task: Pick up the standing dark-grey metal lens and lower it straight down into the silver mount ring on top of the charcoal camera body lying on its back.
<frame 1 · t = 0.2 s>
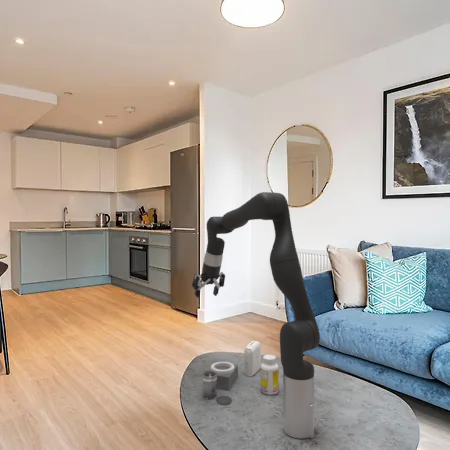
hand: (206, 295, 157), 31 cm above the table, tool tilted 20°, fingers open, 8 cm apart
camera body: (222, 382, 143), on the table
lens cap: (223, 402, 128), on the table
lens: (209, 395, 132), on the table
photo printer: (252, 372, 153), on the table
supplement bottle: (269, 391, 136), on the table
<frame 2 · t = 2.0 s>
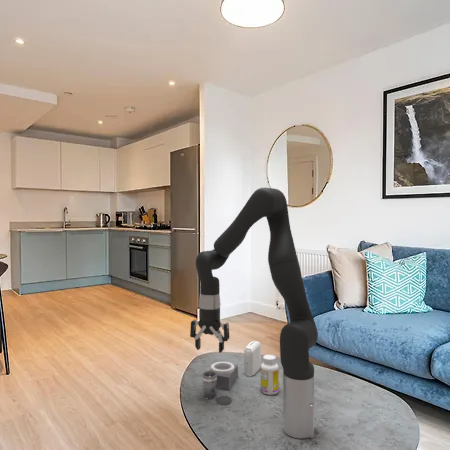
hand: (209, 350, 132), 17 cm above the table, tool pointing down, fingers open, 8 cm apart
nothing on the table moved.
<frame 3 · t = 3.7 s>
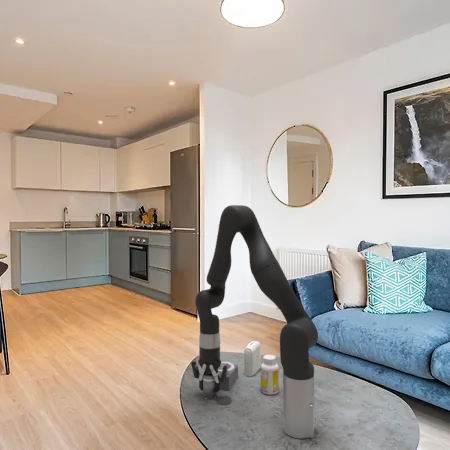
hand: (209, 390, 132), 2 cm above the table, tool pointing down, fingers closed on lens, 5 cm apart
lens: (209, 395, 132), on the table, touching gripper
everything else where it was.
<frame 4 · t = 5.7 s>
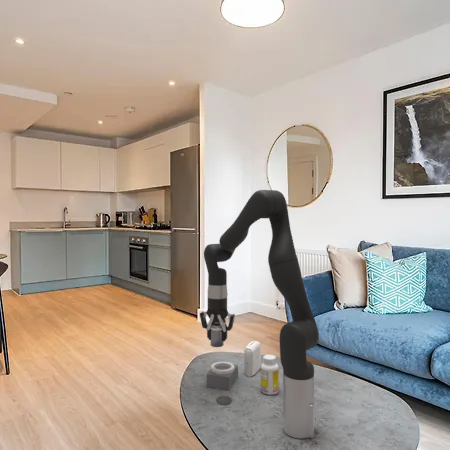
hand: (217, 339, 140), 18 cm above the table, tool pointing down, fingers closed on lens, 5 cm apart
lens: (217, 344, 140), point 16 cm above the table, touching gripper
everything else where it was.
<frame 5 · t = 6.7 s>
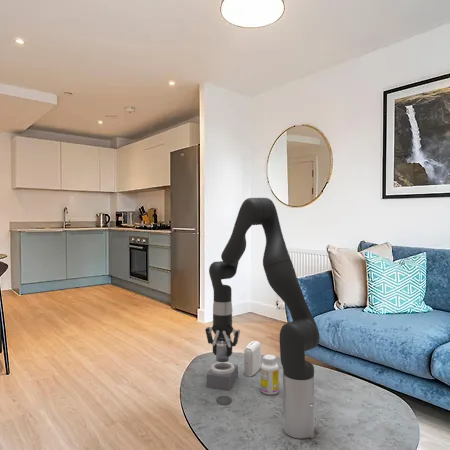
hand: (222, 354, 143), 11 cm above the table, tool pointing down, fingers closed on lens, 5 cm apart
lens: (222, 359, 143), point 9 cm above the table, touching gripper
everything else where it was.
when the fingers open (8 cm above the table, at t = 7.7 s): lens stays where it is, resting on camera body.
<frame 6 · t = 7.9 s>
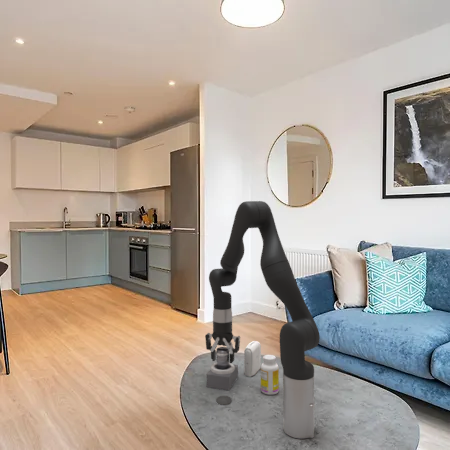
hand: (222, 361, 143), 8 cm above the table, tool pointing down, fingers open, 6 cm apart
lens: (222, 369, 143), point 5 cm above the table, touching camera body
everything else where it was.
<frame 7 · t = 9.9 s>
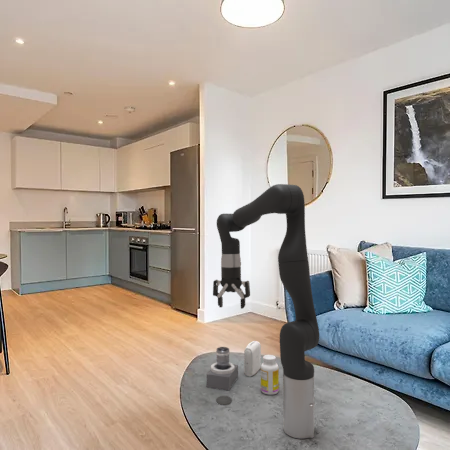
hand: (231, 307, 140), 30 cm above the table, tool pointing down, fingers open, 8 cm apart
nothing on the table moved.
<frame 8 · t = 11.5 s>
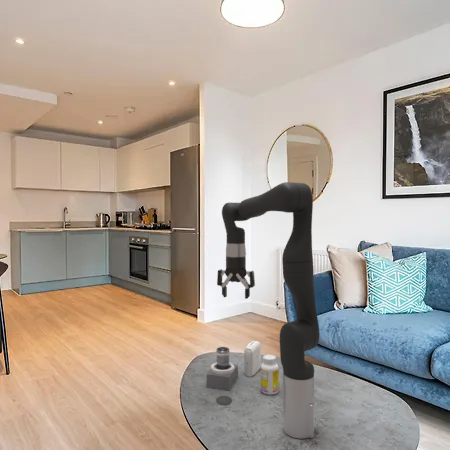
hand: (235, 297, 139), 34 cm above the table, tool pointing down, fingers open, 8 cm apart
nothing on the table moved.
at the end: lens 0.1 cm off-centre on the camera body, point 5.0 cm above the camera body's base; lens tilted 0°; the gripper is holding nothing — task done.
